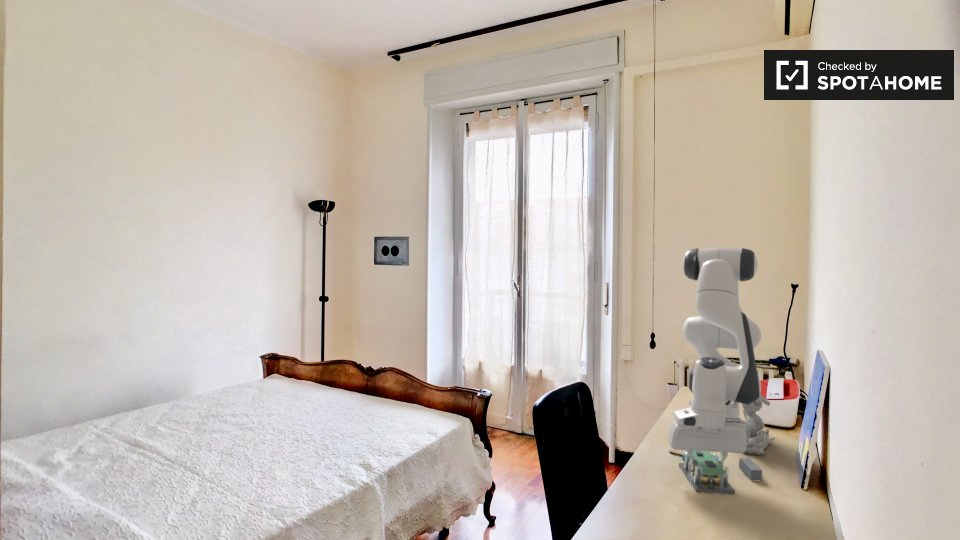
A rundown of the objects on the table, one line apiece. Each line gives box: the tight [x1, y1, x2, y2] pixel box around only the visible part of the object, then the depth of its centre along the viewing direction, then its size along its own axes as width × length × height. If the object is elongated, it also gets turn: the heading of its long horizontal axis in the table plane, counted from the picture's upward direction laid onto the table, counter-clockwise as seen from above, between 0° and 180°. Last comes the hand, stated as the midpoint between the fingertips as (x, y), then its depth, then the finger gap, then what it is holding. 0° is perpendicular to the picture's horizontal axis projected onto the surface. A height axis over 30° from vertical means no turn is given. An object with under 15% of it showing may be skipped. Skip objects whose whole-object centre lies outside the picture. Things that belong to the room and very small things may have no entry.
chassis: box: [678, 451, 736, 495], centre depth 146 cm, size 16×10×6 cm, turn 175°
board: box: [691, 451, 725, 476], centre depth 146 cm, size 12×6×2 cm, turn 175°
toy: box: [668, 448, 720, 463], centre depth 160 cm, size 7×2×15 cm
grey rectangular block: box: [738, 457, 763, 482], centre depth 150 cm, size 8×3×3 cm, turn 175°
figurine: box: [731, 393, 776, 456], centre depth 170 cm, size 18×13×18 cm
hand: (705, 465), depth 146 cm, fingers closed on board, 5 cm apart
